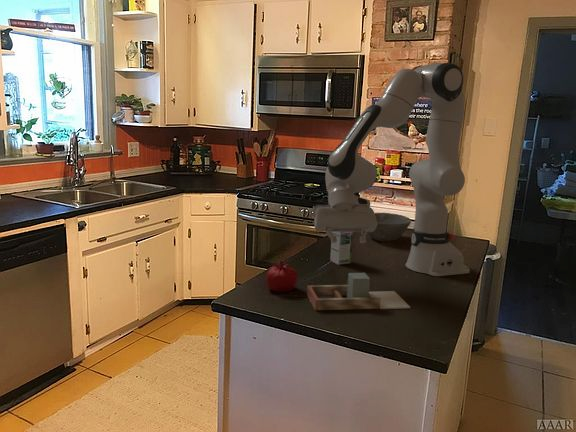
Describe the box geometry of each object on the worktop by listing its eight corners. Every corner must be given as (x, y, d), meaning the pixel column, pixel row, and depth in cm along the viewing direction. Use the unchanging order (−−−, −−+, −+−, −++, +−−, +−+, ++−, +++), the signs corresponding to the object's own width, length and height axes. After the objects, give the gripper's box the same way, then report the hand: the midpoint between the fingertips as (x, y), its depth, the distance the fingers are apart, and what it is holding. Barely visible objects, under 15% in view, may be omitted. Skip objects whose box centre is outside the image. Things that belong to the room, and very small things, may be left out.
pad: (394, 292, 151) (394, 291, 151) (410, 308, 139) (410, 307, 139) (366, 292, 149) (366, 291, 149) (380, 309, 137) (380, 307, 137)
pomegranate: (294, 297, 144) (296, 267, 142) (262, 293, 146) (263, 264, 144) (299, 285, 154) (301, 257, 151) (269, 281, 155) (270, 254, 153)
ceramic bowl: (377, 230, 229) (379, 210, 227) (419, 241, 213) (421, 219, 210) (346, 237, 214) (348, 215, 212) (389, 249, 198) (391, 226, 196)
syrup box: (338, 265, 175) (340, 226, 172) (329, 260, 180) (332, 222, 177) (351, 263, 178) (354, 225, 175) (342, 258, 183) (344, 221, 180)
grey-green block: (362, 297, 145) (364, 272, 144) (367, 304, 141) (370, 278, 139) (346, 298, 145) (348, 272, 143) (351, 304, 140) (353, 278, 138)
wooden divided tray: (367, 293, 149) (367, 284, 148) (379, 308, 138) (380, 298, 137) (310, 294, 146) (310, 285, 145) (318, 310, 135) (319, 300, 134)
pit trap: (335, 294, 147) (335, 284, 147) (345, 309, 136) (346, 299, 136) (306, 294, 146) (307, 285, 145) (315, 310, 135) (315, 300, 134)
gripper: (313, 199, 154) (318, 237, 147) (374, 200, 157) (382, 237, 150) (309, 210, 159) (314, 247, 152) (369, 210, 163) (376, 246, 155)
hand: (348, 242), depth 151 cm, fingers open, 8 cm apart
